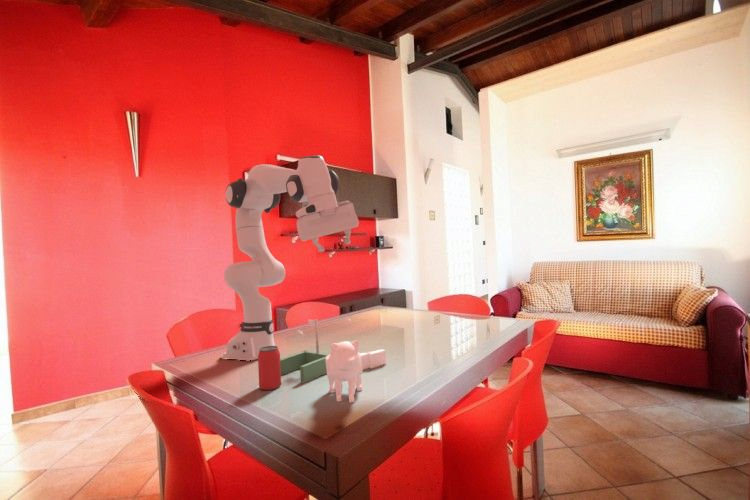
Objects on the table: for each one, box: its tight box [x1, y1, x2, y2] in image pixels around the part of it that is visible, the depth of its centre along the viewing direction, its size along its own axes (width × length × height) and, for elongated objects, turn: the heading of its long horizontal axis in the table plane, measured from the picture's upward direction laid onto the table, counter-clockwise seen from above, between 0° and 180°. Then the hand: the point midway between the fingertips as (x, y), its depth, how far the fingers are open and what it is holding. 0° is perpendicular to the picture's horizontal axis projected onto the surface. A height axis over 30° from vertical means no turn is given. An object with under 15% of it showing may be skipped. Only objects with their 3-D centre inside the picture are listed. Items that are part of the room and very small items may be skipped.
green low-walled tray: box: [280, 319, 330, 383], centre depth 123 cm, size 14×14×17 cm
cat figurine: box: [325, 340, 364, 403], centre depth 102 cm, size 25×10×17 cm, turn 9°
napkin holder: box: [360, 349, 387, 371], centre depth 126 cm, size 15×11×6 cm
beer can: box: [257, 345, 282, 391], centre depth 111 cm, size 7×7×12 cm
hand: (335, 247), depth 114 cm, fingers open, 8 cm apart
